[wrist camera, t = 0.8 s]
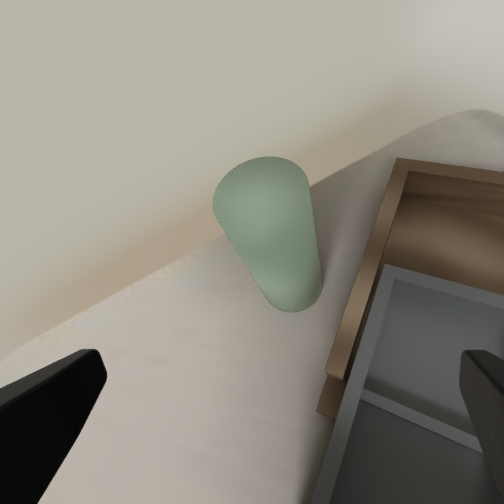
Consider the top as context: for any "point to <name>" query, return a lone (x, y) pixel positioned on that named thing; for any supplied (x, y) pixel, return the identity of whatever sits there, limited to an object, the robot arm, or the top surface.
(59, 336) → the top surface
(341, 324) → the dock
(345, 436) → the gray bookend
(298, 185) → the pale green cylinder
